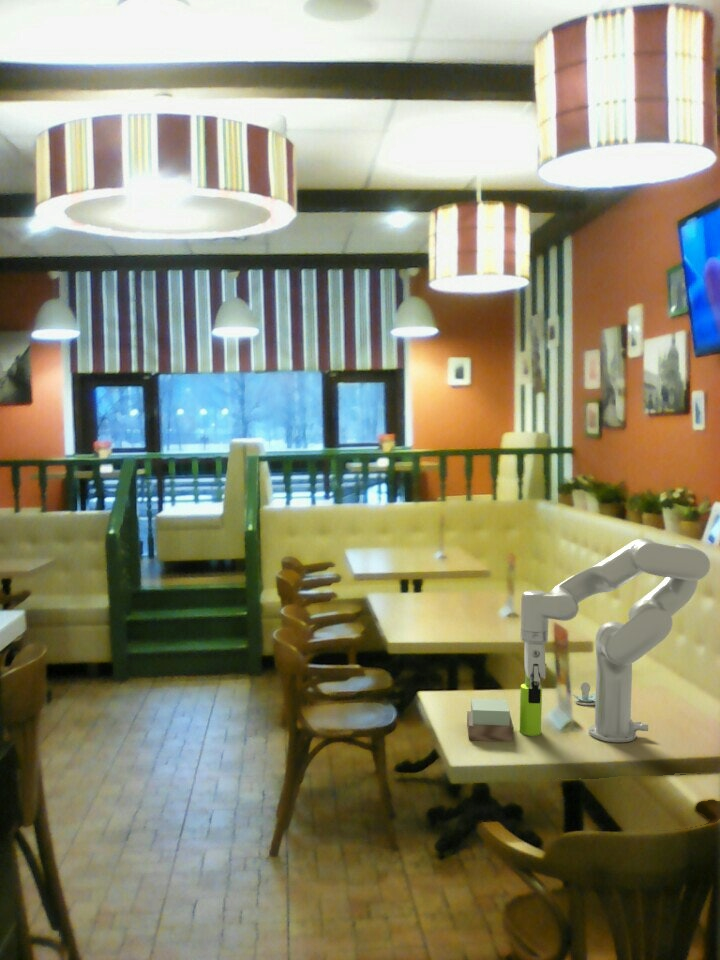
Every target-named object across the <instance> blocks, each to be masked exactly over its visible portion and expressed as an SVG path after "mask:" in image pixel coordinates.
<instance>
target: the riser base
mask: <svg viewBox="0 0 720 960" xmlns="http://www.w3.org/2000/svg"><path fill="white" fill-rule="evenodd" d="M466 711H467V710H466ZM466 713H467V716H466V717H467V718H466V721H467V722H466V727H467V734H468V740H469V741H487V742H488V741H489V742H492V741H493V742H511V743H512V742H514V724H513V720H512V717H511V715H510V726H501V725H474V724H473V723H472V716H471V710H468V711H467V712H466Z"/></svg>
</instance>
